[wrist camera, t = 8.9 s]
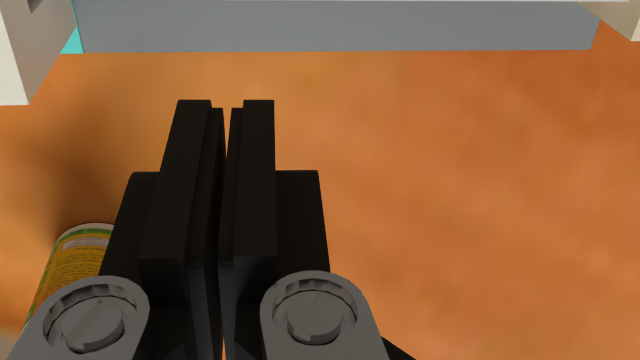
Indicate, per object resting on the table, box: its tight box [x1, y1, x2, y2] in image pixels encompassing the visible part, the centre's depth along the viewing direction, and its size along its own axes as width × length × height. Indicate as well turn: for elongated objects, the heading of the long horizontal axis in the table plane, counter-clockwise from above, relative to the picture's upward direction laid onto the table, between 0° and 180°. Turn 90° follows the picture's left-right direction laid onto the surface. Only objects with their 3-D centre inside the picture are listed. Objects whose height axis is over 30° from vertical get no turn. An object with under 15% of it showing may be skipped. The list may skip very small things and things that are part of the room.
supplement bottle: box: [20, 223, 114, 336], centre depth 30 cm, size 5×5×10 cm
